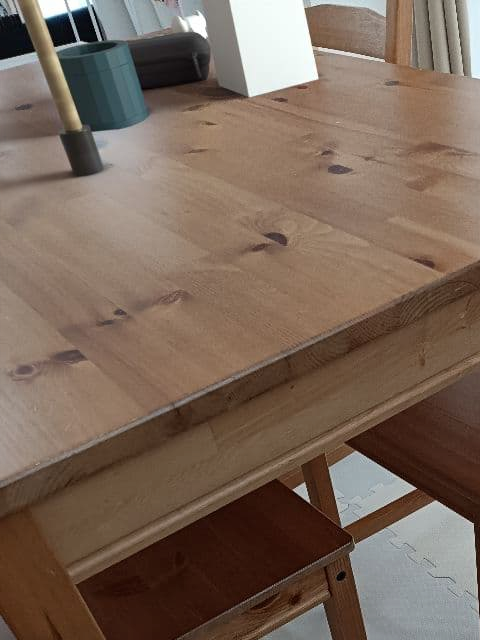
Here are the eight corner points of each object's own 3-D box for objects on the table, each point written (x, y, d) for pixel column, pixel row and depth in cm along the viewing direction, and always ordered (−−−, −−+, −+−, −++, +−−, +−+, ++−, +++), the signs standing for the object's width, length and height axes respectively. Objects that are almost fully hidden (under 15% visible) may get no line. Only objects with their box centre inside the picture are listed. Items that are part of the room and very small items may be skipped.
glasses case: (217, 62, 131) (204, 13, 124) (220, 101, 126) (206, 53, 119) (110, 76, 130) (91, 28, 123) (108, 117, 125) (89, 69, 118)
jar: (65, 135, 109) (38, 61, 103) (92, 114, 116) (68, 44, 110) (134, 128, 108) (111, 53, 101) (157, 108, 115) (137, 36, 109)
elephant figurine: (193, 55, 142) (184, 17, 138) (166, 54, 146) (156, 16, 142) (221, 46, 145) (213, 8, 141) (194, 45, 149) (185, 8, 145)
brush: (70, 180, 93) (-8, -25, 79) (81, 170, 95) (8, -30, 82) (98, 178, 92) (25, -29, 79) (109, 168, 95) (40, -34, 81)
